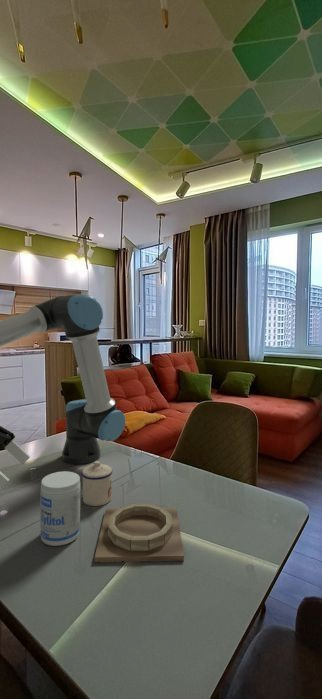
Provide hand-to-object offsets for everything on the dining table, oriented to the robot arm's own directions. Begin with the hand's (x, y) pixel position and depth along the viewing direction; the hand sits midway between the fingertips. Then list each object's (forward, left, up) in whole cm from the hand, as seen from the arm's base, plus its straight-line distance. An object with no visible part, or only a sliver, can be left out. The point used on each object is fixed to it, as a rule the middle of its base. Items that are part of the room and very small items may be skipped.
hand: (16, 471), depth 82 cm
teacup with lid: (-19, +17, -17) cm, 30 cm away
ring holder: (0, +31, -17) cm, 35 cm away
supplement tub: (0, +11, -17) cm, 20 cm away
